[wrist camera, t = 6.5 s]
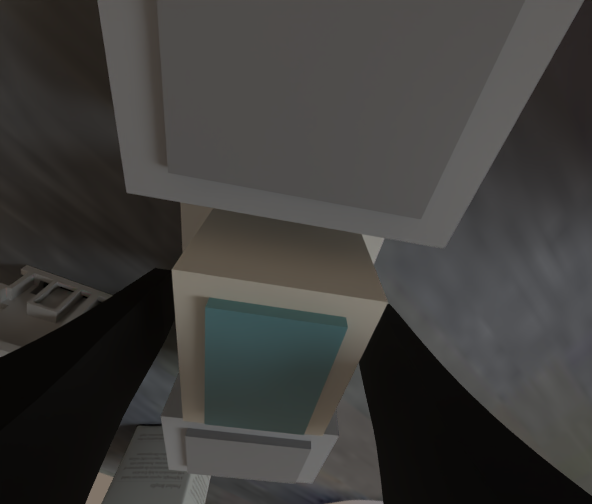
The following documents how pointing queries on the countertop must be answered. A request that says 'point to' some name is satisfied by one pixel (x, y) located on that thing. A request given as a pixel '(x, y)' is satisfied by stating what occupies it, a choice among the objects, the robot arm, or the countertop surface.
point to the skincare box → (153, 475)
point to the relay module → (271, 321)
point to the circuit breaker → (40, 306)
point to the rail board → (316, 135)
